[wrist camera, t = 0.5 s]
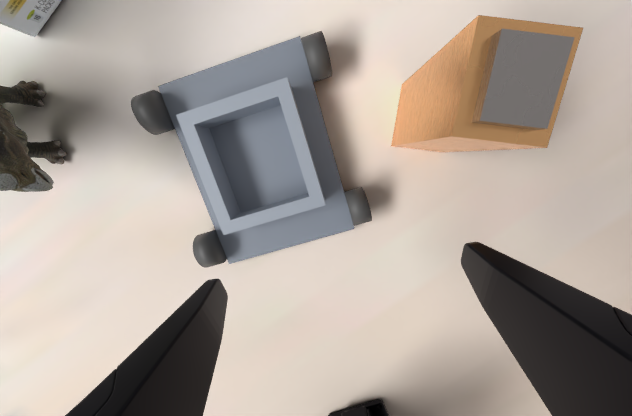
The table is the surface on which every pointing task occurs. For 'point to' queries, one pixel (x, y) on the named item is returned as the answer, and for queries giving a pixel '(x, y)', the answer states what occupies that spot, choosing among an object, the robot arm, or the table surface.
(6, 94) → the dinosaur figurine
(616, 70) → the table surface
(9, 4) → the tea box
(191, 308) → the robot arm
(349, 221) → the chassis
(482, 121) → the orange block gray top
